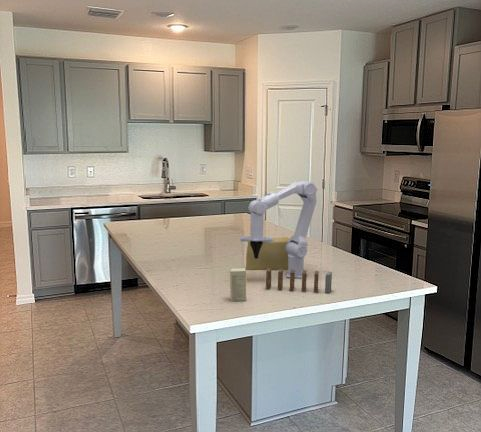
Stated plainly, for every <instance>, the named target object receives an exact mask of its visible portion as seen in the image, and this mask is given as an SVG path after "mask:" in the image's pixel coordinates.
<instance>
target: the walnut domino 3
mask: <svg viewBox="0 0 481 432" xmlns="http://www.w3.org/2000/svg"><path fill="white" fill-rule="evenodd" d="M295 279H296V278H295V270H292V269H291V271H290V277H289V292H294V291H295Z"/></svg>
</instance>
